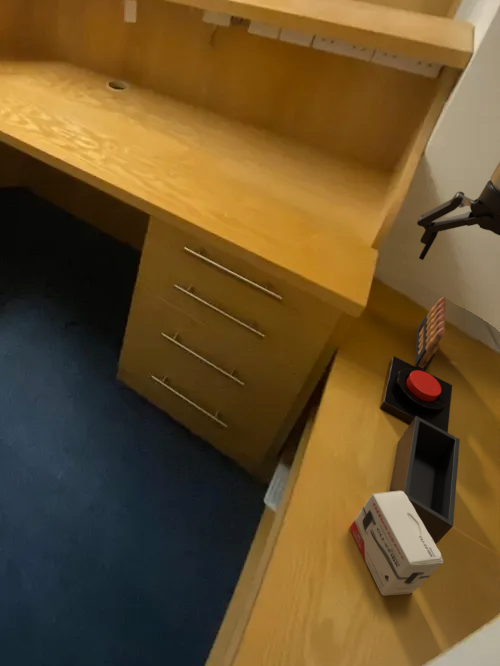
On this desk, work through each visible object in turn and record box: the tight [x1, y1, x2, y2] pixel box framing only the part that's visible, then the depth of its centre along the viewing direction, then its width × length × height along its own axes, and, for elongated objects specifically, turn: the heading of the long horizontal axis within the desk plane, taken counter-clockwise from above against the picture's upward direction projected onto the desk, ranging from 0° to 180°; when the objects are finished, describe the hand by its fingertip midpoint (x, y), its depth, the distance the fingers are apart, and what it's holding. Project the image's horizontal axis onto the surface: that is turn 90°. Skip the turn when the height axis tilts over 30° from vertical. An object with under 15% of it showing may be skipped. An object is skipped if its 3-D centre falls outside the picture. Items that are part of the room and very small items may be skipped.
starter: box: [379, 355, 453, 433], centre depth 97 cm, size 12×10×4 cm
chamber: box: [388, 416, 461, 546], centre depth 82 cm, size 6×15×8 cm, turn 142°
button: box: [406, 370, 441, 402], centre depth 95 cm, size 5×5×2 cm
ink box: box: [349, 491, 444, 597], centre depth 74 cm, size 8×5×12 cm, turn 5°
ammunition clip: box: [414, 296, 446, 372], centre depth 104 cm, size 11×2×12 cm, turn 146°
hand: (462, 273), depth 99 cm, fingers open, 13 cm apart
